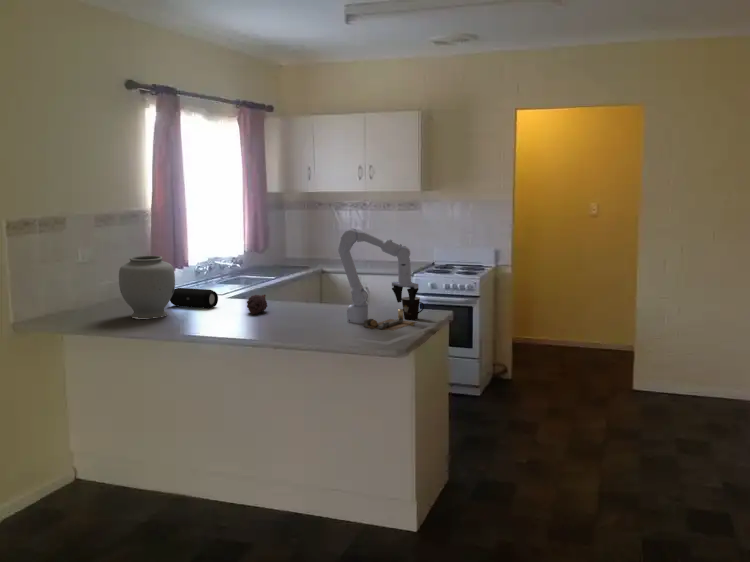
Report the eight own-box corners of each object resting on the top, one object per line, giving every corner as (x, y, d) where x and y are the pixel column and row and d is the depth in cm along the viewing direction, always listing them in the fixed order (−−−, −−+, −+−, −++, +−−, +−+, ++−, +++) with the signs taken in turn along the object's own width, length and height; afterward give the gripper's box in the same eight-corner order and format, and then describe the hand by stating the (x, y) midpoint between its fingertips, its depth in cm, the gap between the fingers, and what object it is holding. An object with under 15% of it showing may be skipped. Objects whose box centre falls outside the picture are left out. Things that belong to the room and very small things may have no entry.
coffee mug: (399, 318, 356) (398, 297, 354) (415, 316, 359) (415, 296, 357) (408, 322, 345) (408, 301, 343) (425, 320, 348) (425, 299, 346)
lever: (377, 328, 328) (377, 315, 327) (399, 321, 342) (399, 308, 341) (382, 328, 326) (382, 316, 325) (404, 321, 340) (404, 309, 339)
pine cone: (264, 316, 368) (252, 300, 365) (249, 324, 371) (237, 309, 369) (275, 300, 384) (263, 285, 381) (260, 308, 387) (248, 293, 385)
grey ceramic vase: (184, 311, 385) (181, 253, 380) (165, 321, 359) (161, 260, 354) (135, 311, 388) (130, 254, 383) (112, 321, 361) (107, 260, 357)
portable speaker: (169, 307, 397) (167, 289, 396) (180, 304, 406) (179, 286, 405) (208, 310, 387) (207, 291, 385) (219, 307, 396) (218, 288, 394)
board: (364, 329, 332) (363, 320, 331) (390, 321, 348) (390, 312, 348) (396, 334, 322) (396, 324, 321) (421, 325, 338) (421, 316, 338)
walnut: (368, 327, 331) (368, 320, 331) (373, 326, 334) (372, 319, 333) (374, 328, 329) (374, 321, 329) (378, 326, 332) (378, 319, 331)
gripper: (422, 273, 335) (423, 302, 337) (398, 271, 345) (399, 300, 347) (412, 275, 330) (413, 305, 332) (388, 273, 340) (389, 302, 342)
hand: (405, 302), depth 339 cm, fingers open, 7 cm apart
